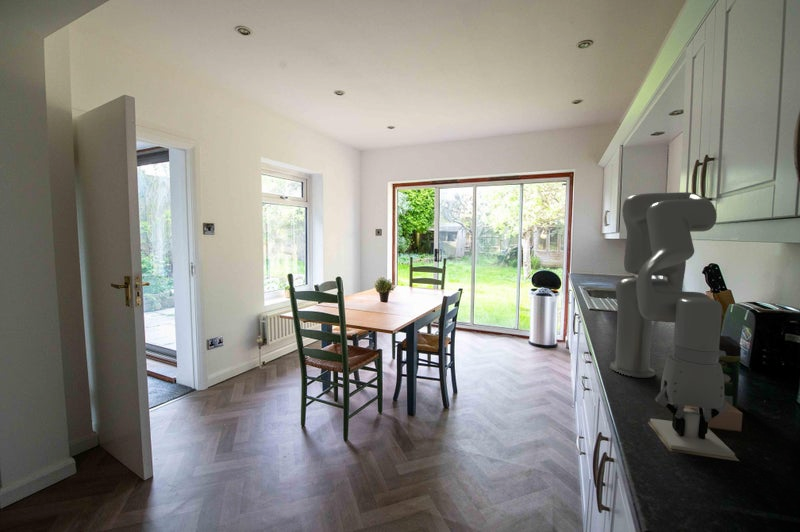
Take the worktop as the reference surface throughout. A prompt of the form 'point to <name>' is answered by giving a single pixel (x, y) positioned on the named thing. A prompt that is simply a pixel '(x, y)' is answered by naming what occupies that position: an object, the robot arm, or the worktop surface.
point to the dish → (725, 419)
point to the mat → (690, 451)
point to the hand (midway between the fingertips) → (688, 433)
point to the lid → (691, 436)
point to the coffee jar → (730, 368)
